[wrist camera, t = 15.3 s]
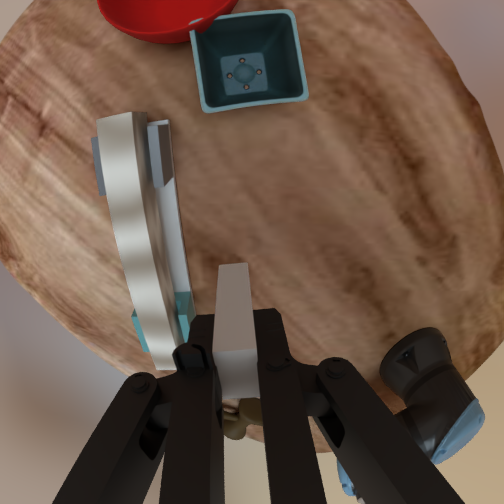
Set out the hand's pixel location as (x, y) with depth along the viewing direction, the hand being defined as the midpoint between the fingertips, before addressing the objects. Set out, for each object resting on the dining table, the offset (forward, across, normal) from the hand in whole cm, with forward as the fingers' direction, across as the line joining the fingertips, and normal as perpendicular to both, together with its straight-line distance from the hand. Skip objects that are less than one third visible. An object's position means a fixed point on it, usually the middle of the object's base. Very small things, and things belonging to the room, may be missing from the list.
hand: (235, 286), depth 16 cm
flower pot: (+20, -2, -14) cm, 24 cm away
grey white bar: (+17, +10, +4) cm, 20 cm away
